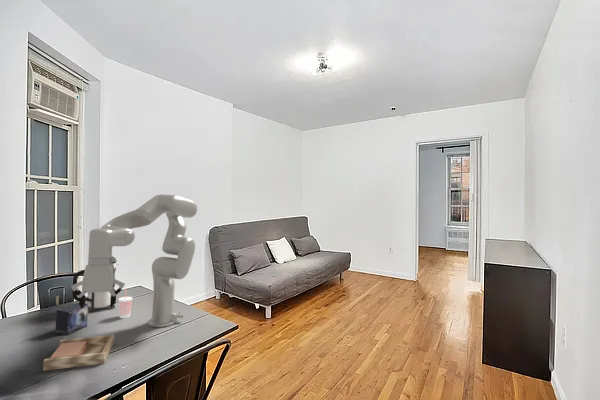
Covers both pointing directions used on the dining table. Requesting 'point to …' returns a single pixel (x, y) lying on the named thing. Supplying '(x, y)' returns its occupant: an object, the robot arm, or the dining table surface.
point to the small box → (71, 319)
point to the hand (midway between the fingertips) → (97, 306)
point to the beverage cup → (125, 306)
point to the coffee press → (95, 295)
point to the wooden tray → (92, 355)
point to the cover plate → (70, 349)
